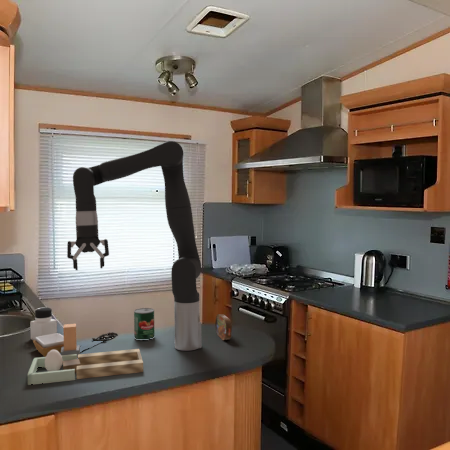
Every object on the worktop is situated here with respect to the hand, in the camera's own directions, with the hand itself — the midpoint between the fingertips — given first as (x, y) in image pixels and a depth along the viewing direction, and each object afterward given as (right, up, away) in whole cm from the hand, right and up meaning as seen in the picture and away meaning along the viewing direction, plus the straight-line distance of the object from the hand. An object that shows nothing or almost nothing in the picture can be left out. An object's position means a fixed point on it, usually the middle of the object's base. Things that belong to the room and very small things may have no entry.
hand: (89, 269), depth 165 cm
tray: (-5, -31, -20) cm, 37 cm away
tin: (+48, -29, +16) cm, 58 cm away
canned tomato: (+17, -29, +16) cm, 37 cm away
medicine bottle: (-22, -29, +16) cm, 40 cm away
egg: (-5, -31, -20) cm, 37 cm away
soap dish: (-13, -30, +1) cm, 33 cm away
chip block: (0, -31, -18) cm, 36 cm away
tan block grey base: (-5, -30, -5) cm, 31 cm away
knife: (0, -30, +9) cm, 31 cm away
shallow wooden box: (+11, -30, -16) cm, 36 cm away
